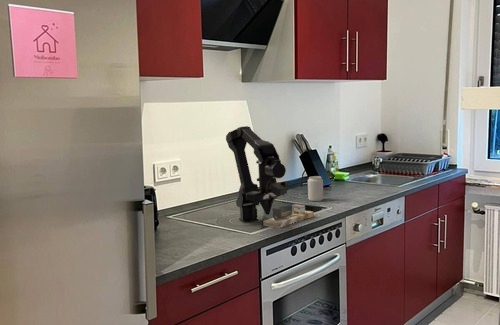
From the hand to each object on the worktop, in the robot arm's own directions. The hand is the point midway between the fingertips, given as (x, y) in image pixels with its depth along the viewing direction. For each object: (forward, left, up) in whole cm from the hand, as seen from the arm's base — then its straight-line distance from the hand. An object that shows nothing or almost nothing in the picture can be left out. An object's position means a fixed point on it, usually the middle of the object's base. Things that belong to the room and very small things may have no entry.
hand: (267, 214), depth 194 cm
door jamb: (+12, +6, -6) cm, 15 cm away
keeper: (+18, +9, -3) cm, 21 cm away
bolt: (+9, +4, -3) cm, 10 cm away
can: (+44, +37, -6) cm, 57 cm away
